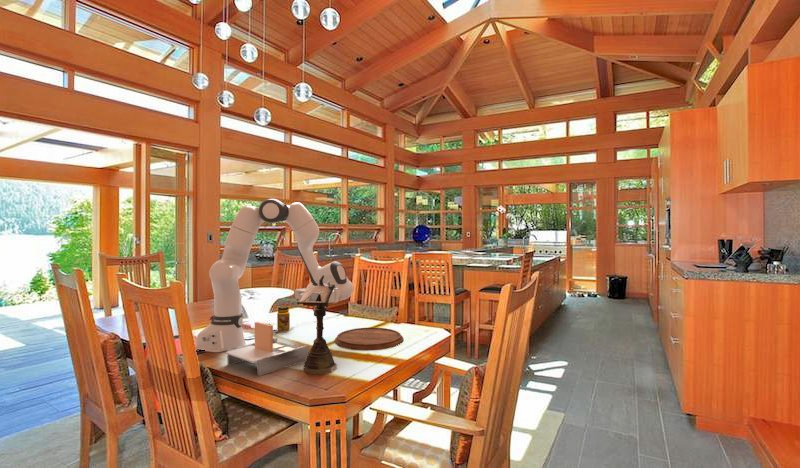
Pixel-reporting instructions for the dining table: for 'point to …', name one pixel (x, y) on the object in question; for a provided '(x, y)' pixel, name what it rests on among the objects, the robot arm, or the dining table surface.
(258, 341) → the sliding cover
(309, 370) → the dark ornate pedestal stand
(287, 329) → the condiment
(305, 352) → the grey metal tray
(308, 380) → the dining table surface
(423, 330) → the dining table surface
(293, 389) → the dining table surface
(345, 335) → the cutting board
